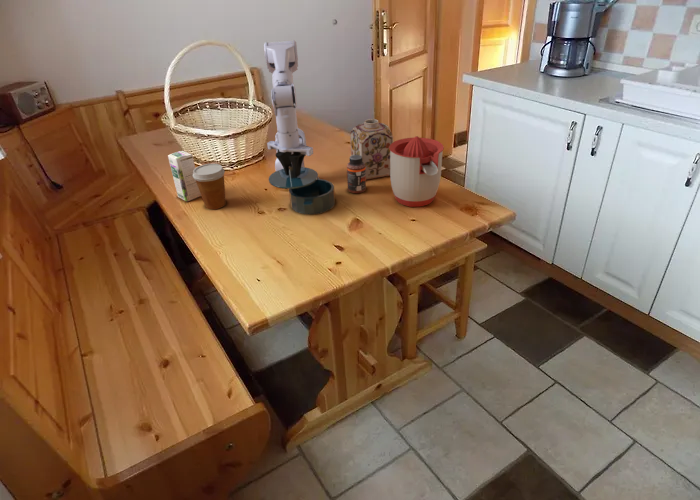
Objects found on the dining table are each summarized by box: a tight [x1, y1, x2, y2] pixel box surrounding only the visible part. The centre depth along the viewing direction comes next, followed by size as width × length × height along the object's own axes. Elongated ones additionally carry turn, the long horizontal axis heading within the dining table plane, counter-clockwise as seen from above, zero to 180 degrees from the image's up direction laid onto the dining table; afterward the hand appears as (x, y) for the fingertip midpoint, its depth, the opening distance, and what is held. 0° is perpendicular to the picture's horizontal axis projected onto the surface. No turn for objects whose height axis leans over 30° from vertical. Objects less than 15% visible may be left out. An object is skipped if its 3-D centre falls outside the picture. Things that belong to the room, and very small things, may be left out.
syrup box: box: [167, 150, 202, 202], centre depth 150 cm, size 6×6×14 cm
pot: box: [288, 176, 336, 215], centre depth 145 cm, size 14×19×5 cm
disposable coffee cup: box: [192, 163, 227, 210], centre depth 145 cm, size 10×10×12 cm
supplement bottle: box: [346, 155, 367, 194], centre depth 150 cm, size 6×6×11 cm
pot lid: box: [268, 164, 319, 190], centre depth 139 cm, size 15×15×5 cm
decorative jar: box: [349, 118, 394, 181], centre depth 160 cm, size 12×12×18 cm
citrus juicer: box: [389, 135, 445, 208], centre depth 140 cm, size 16×17×20 cm
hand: (293, 175), depth 140 cm, fingers closed on pot lid, 2 cm apart
